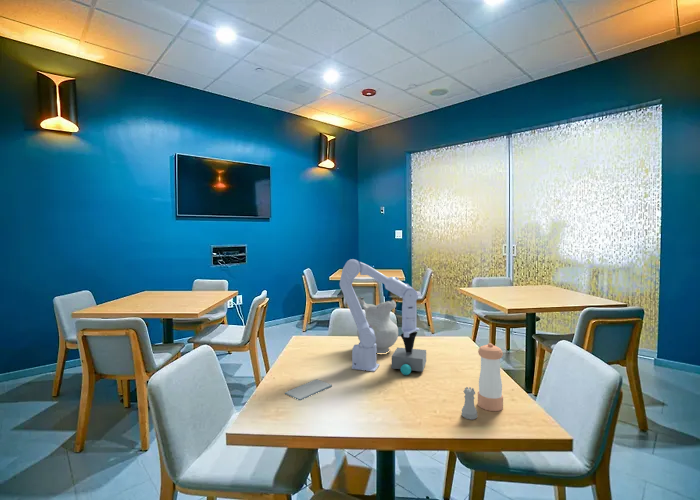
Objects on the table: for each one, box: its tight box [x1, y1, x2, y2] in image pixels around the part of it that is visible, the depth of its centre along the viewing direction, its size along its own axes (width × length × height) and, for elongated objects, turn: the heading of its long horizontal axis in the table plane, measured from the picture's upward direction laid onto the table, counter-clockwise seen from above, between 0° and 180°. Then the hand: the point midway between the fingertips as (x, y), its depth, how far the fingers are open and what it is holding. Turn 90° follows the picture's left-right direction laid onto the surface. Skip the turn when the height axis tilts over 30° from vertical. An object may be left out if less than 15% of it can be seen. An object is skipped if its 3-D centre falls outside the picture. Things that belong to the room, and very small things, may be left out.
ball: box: [400, 364, 412, 376], centre depth 133 cm, size 4×4×4 cm
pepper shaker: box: [477, 342, 504, 412], centre depth 107 cm, size 7×7×19 cm
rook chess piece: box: [460, 386, 478, 420], centre depth 101 cm, size 4×4×8 cm
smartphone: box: [284, 378, 332, 401], centre depth 120 cm, size 8×1×15 cm
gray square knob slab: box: [391, 346, 427, 373], centre depth 141 cm, size 12×12×8 cm
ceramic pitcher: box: [356, 296, 399, 353], centre depth 164 cm, size 22×20×25 cm
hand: (409, 350), depth 141 cm, fingers closed on gray square knob slab, 2 cm apart
